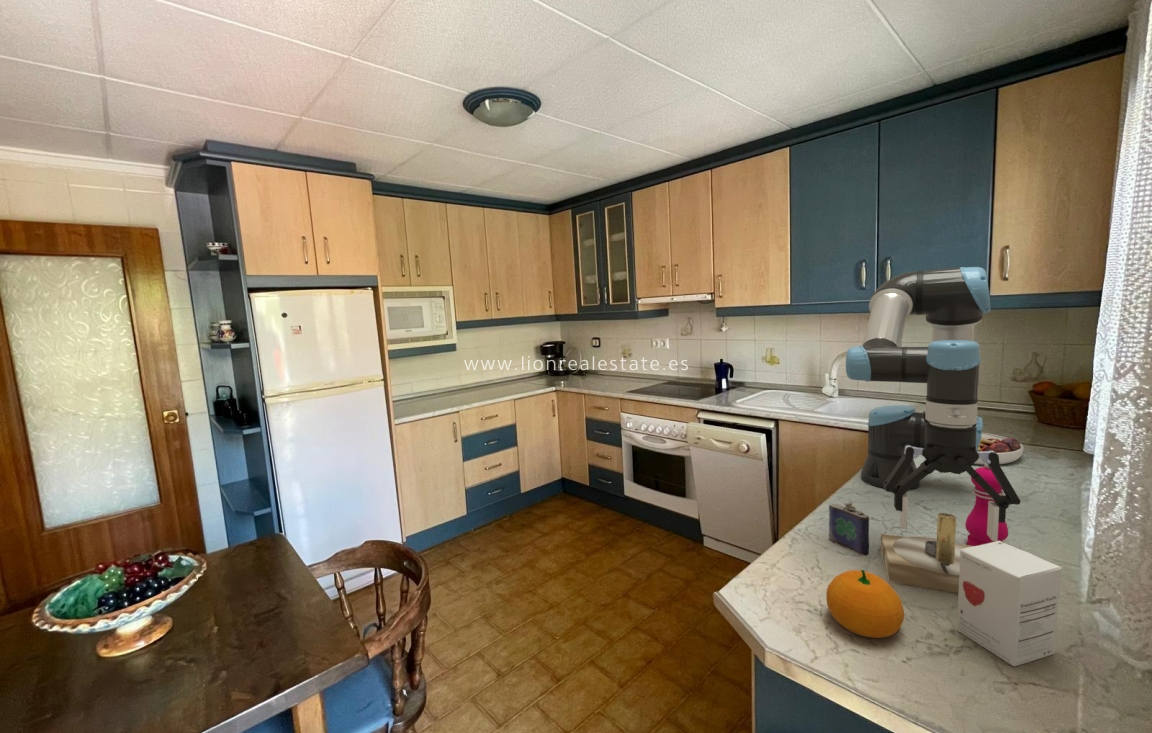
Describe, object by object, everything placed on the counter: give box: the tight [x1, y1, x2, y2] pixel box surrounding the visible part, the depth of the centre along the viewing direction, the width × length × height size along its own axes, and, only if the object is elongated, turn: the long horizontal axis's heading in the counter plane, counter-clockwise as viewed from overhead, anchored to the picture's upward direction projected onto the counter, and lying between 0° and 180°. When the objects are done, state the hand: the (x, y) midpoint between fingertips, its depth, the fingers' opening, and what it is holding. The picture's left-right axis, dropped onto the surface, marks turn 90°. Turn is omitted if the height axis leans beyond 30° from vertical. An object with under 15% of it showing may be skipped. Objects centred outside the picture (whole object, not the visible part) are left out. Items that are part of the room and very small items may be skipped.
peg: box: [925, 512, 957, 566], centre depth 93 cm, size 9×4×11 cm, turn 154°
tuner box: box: [879, 533, 973, 594], centre depth 96 cm, size 15×18×4 cm
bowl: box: [973, 432, 1024, 466], centre depth 164 cm, size 30×30×8 cm
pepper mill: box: [964, 463, 1009, 546], centre depth 103 cm, size 7×7×20 cm
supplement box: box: [956, 541, 1063, 667], centre depth 76 cm, size 9×9×15 cm
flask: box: [828, 501, 870, 557], centre depth 108 cm, size 9×3×11 cm, turn 26°
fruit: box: [826, 569, 905, 639], centre depth 82 cm, size 12×12×10 cm
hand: (946, 532), depth 89 cm, fingers open, 13 cm apart
